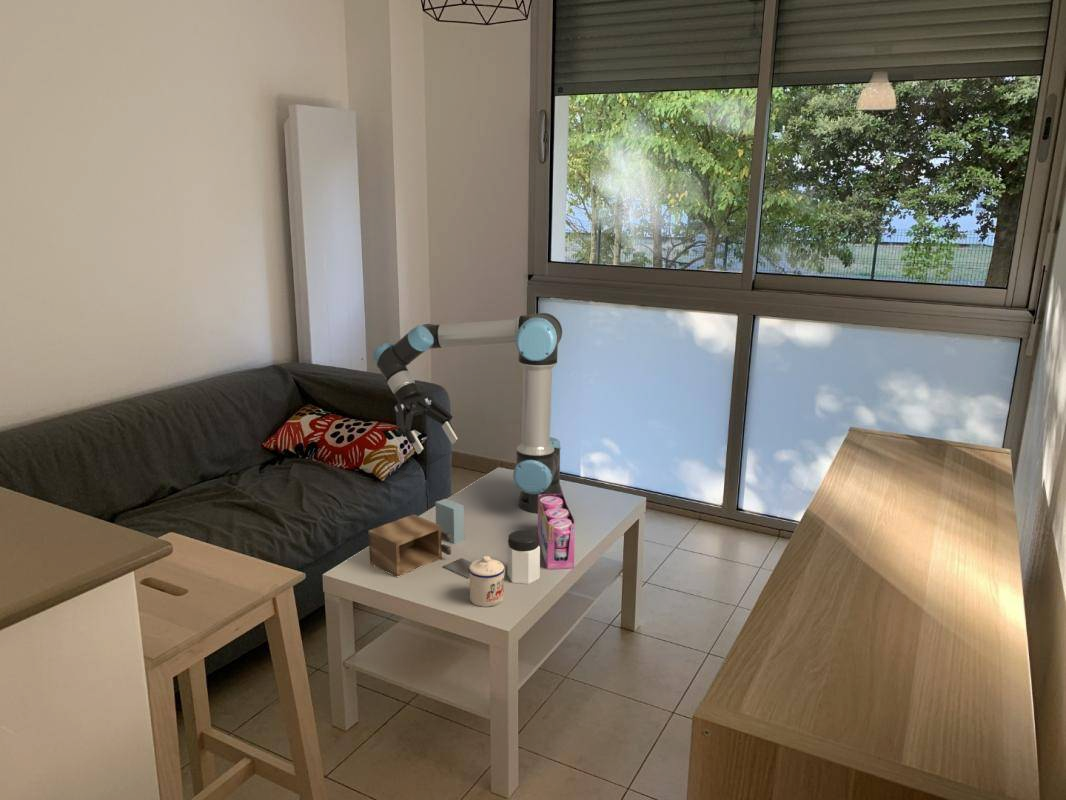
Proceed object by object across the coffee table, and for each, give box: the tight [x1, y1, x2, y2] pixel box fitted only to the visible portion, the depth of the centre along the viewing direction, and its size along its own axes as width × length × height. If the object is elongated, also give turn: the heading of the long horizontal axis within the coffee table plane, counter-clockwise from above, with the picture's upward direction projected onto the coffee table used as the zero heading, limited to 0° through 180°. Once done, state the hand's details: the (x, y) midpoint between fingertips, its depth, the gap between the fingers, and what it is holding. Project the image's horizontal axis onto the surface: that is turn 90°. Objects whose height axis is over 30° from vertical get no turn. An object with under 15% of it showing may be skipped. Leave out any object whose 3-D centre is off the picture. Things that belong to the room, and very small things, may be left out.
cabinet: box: [368, 513, 473, 579], centre depth 227 cm, size 20×26×10 cm
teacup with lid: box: [469, 555, 506, 608], centre depth 210 cm, size 12×9×12 cm
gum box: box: [537, 493, 576, 570], centre depth 236 cm, size 24×8×14 cm, turn 7°
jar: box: [506, 529, 541, 585], centre depth 221 cm, size 9×8×12 cm
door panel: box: [434, 498, 465, 545], centre depth 245 cm, size 8×4×11 cm, turn 48°
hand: (438, 446), depth 247 cm, fingers open, 13 cm apart
